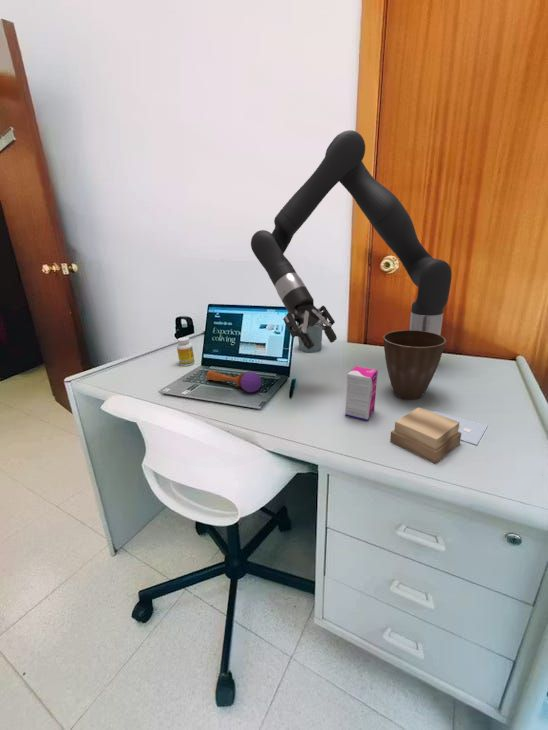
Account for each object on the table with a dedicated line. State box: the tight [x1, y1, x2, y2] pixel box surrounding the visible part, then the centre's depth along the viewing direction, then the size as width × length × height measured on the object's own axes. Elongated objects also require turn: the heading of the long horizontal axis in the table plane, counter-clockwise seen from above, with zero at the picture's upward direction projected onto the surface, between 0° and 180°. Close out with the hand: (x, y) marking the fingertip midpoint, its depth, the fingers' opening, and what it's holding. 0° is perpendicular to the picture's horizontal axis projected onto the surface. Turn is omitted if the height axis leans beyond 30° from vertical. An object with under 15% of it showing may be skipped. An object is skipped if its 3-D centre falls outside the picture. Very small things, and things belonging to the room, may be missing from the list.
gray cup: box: [296, 319, 323, 354], centre depth 132 cm, size 10×10×12 cm
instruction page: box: [430, 410, 488, 446], centre depth 78 cm, size 9×12×1 cm
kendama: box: [205, 370, 262, 393], centre depth 105 cm, size 6×6×20 cm
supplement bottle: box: [176, 336, 195, 367], centre depth 124 cm, size 5×5×10 cm
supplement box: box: [345, 365, 378, 422], centre depth 84 cm, size 6×6×12 cm
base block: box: [389, 406, 461, 464], centre depth 72 cm, size 10×10×5 cm
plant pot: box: [383, 329, 447, 400], centre depth 92 cm, size 15×15×16 cm
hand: (323, 344), depth 90 cm, fingers open, 8 cm apart
